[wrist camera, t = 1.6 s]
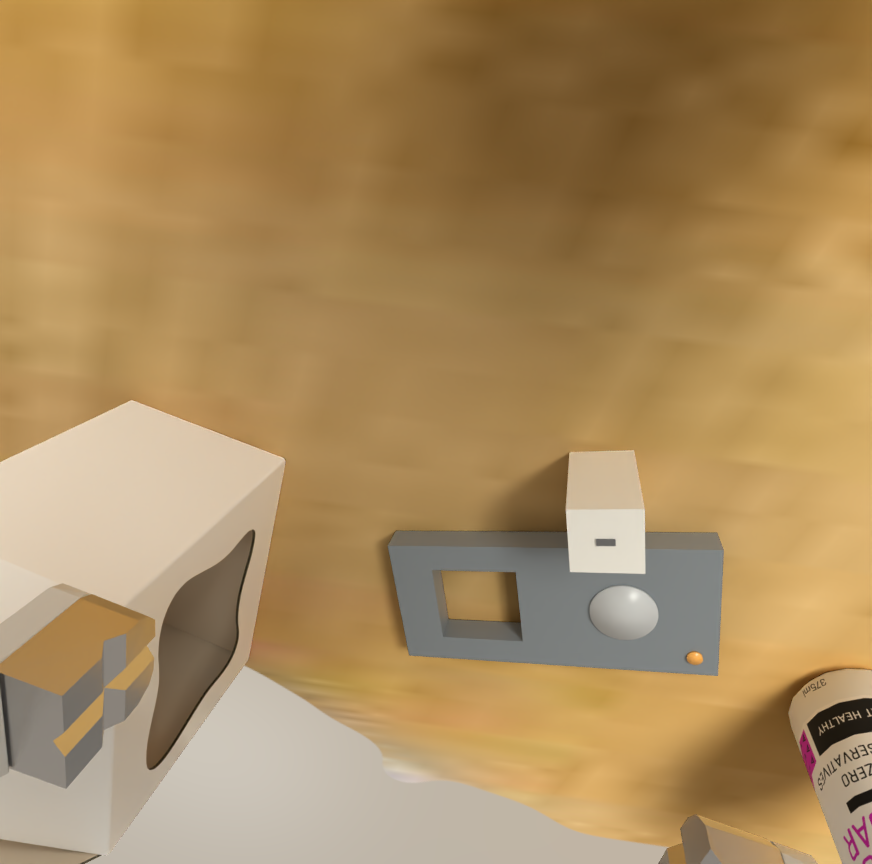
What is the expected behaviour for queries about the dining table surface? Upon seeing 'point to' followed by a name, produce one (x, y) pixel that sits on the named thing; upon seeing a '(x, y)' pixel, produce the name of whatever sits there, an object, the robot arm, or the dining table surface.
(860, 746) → the supplement can
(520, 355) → the dining table surface
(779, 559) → the dining table surface
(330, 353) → the dining table surface
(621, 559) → the block
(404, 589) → the power board
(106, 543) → the gable box
